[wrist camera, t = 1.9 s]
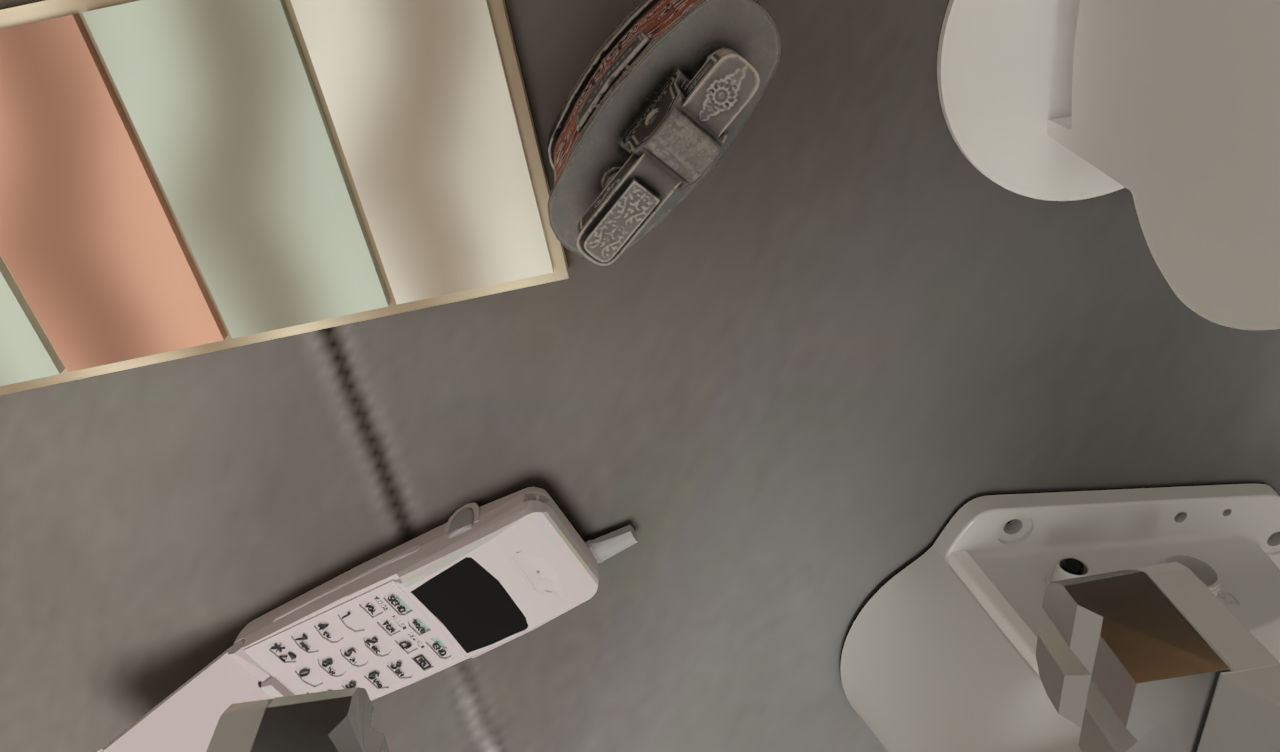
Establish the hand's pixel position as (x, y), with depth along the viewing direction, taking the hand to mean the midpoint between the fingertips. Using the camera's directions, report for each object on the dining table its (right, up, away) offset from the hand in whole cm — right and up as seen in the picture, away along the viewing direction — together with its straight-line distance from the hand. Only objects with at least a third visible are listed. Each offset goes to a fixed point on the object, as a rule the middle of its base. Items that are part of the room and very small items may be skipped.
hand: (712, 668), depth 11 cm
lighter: (-1, +13, +20) cm, 24 cm away
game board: (-17, +10, +19) cm, 27 cm away
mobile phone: (-13, -7, +30) cm, 33 cm away
